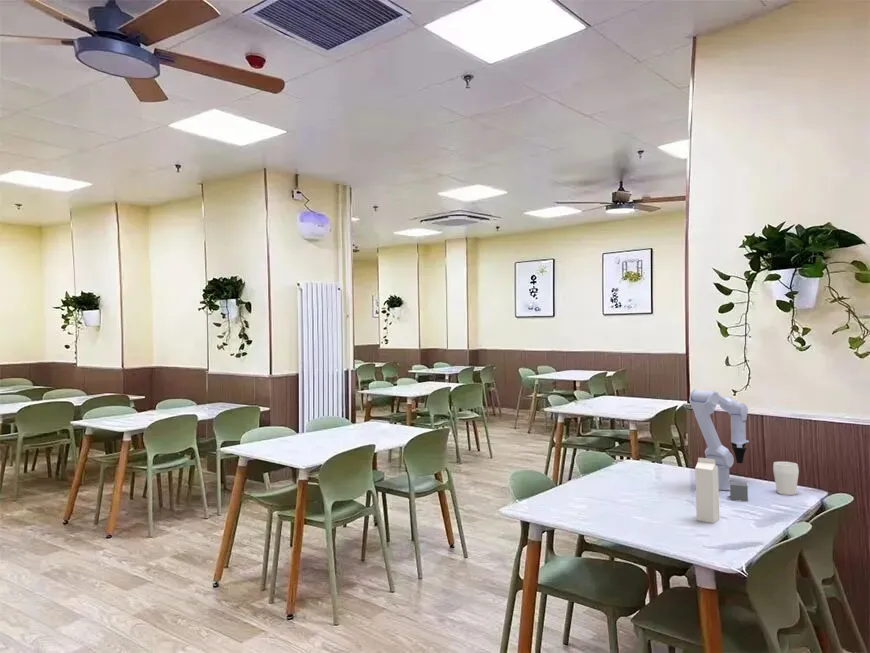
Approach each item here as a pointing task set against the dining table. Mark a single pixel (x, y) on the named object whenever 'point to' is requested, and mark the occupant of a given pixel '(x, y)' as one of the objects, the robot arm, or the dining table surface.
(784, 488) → the cup
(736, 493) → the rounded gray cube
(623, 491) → the dining table surface
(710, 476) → the milk
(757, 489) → the dining table surface
